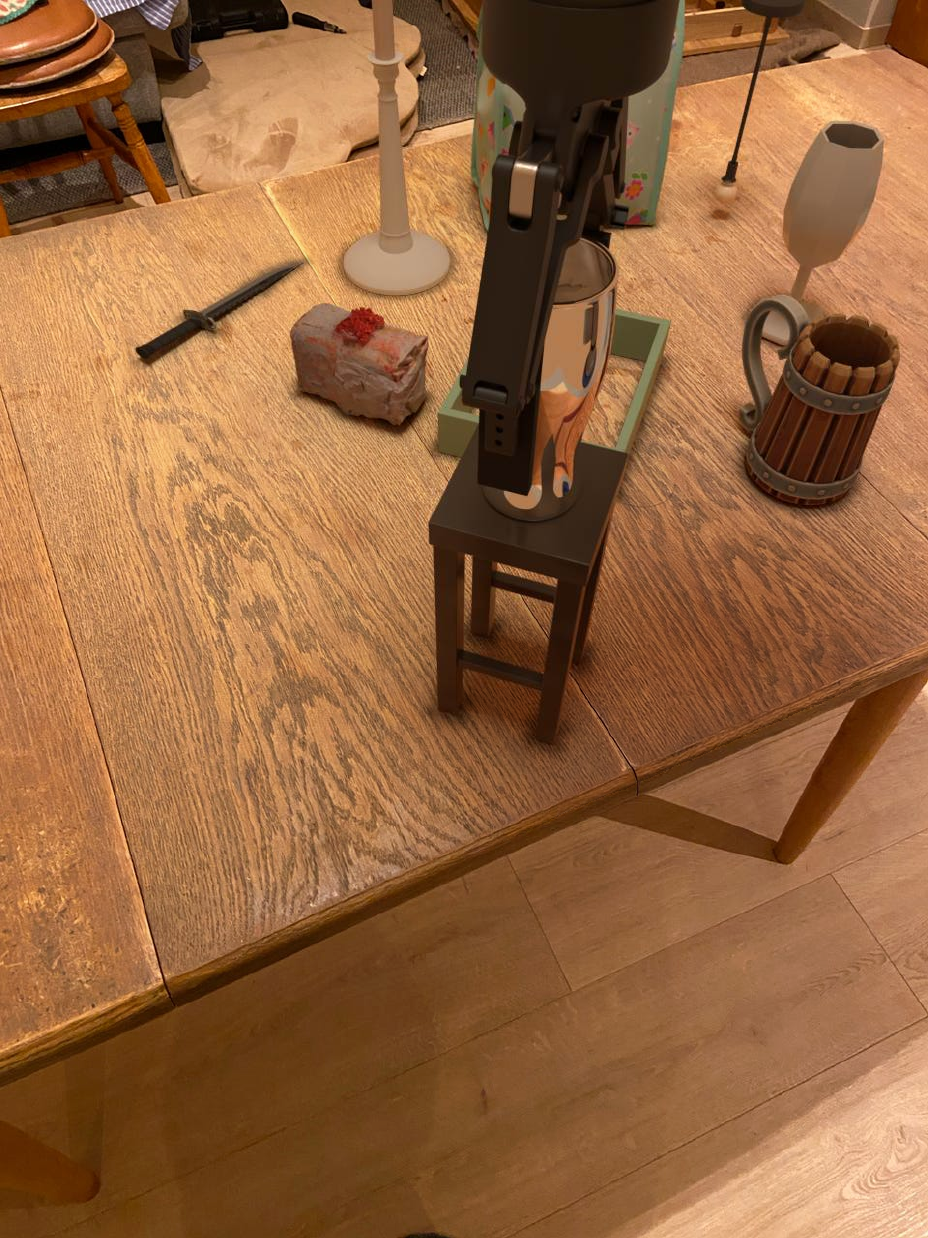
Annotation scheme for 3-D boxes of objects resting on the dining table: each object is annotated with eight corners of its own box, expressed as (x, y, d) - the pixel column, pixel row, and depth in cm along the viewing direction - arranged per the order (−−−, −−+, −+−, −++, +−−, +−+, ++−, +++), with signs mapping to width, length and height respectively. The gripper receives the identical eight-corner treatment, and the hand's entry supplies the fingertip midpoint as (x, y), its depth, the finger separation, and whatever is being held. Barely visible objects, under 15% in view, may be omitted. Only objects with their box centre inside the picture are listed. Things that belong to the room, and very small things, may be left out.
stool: (587, 648, 75) (629, 452, 57) (555, 748, 69) (589, 565, 52) (474, 616, 77) (481, 417, 59) (434, 711, 71) (427, 522, 54)
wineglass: (821, 355, 99) (897, 164, 82) (742, 339, 100) (800, 148, 83) (829, 310, 104) (902, 121, 87) (753, 295, 105) (810, 107, 88)
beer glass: (475, 445, 58) (481, 224, 46) (584, 448, 58) (618, 227, 45) (473, 526, 53) (478, 305, 41) (589, 529, 53) (629, 309, 41)
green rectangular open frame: (662, 359, 98) (671, 319, 94) (615, 496, 86) (623, 457, 82) (505, 325, 101) (507, 285, 97) (438, 451, 89) (437, 412, 85)
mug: (875, 480, 87) (943, 351, 75) (800, 525, 84) (858, 397, 71) (759, 393, 95) (803, 263, 83) (685, 431, 91) (720, 301, 79)
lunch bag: (631, 167, 123) (669, -71, 101) (663, 233, 113) (713, -16, 91) (465, 178, 121) (468, -64, 99) (483, 245, 111) (490, -6, 89)
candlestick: (455, 238, 112) (455, -49, 88) (443, 298, 104) (440, 2, 80) (353, 232, 112) (326, -55, 88) (335, 291, 105) (299, -5, 81)
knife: (283, 247, 109) (313, 257, 107) (286, 262, 110) (316, 272, 108) (123, 338, 96) (154, 352, 94) (128, 354, 97) (159, 367, 95)
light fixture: (715, 237, 113) (771, 10, 92) (682, 212, 116) (730, -12, 96) (756, 223, 115) (820, -1, 94) (723, 199, 118) (778, -23, 98)
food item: (440, 395, 94) (439, 313, 86) (403, 441, 90) (398, 360, 82) (329, 358, 98) (318, 276, 90) (288, 401, 93) (273, 319, 85)
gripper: (574, -152, 41) (539, 270, 58) (357, 75, 27) (396, 544, 44) (739, -134, 39) (654, 293, 57) (601, 115, 25) (543, 584, 42)
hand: (541, 404), depth 50 cm, fingers open, 13 cm apart
